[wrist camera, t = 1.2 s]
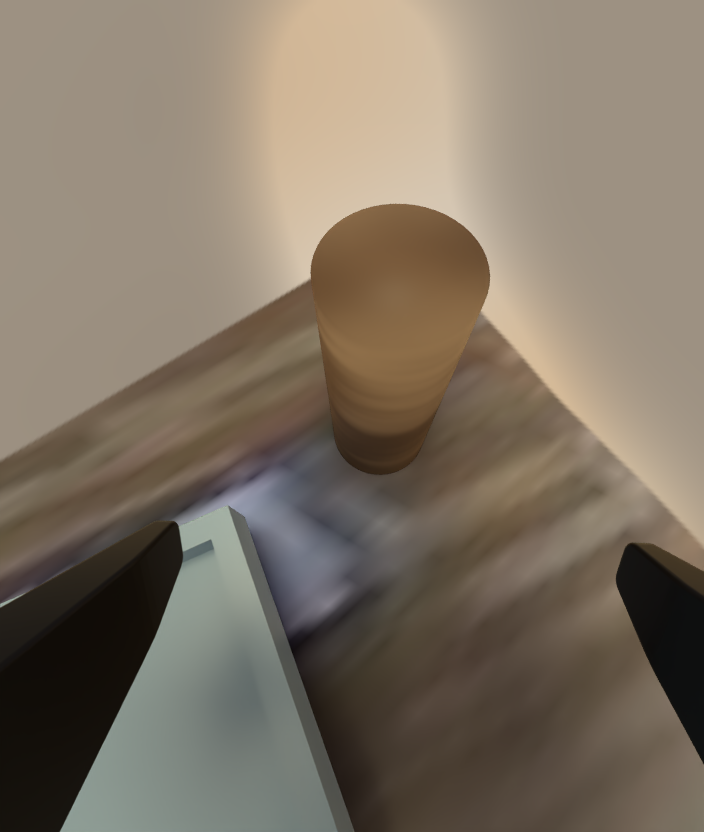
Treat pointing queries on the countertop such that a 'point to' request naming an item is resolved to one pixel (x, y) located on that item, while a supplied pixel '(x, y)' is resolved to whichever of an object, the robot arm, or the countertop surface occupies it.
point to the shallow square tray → (214, 712)
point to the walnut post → (393, 325)
